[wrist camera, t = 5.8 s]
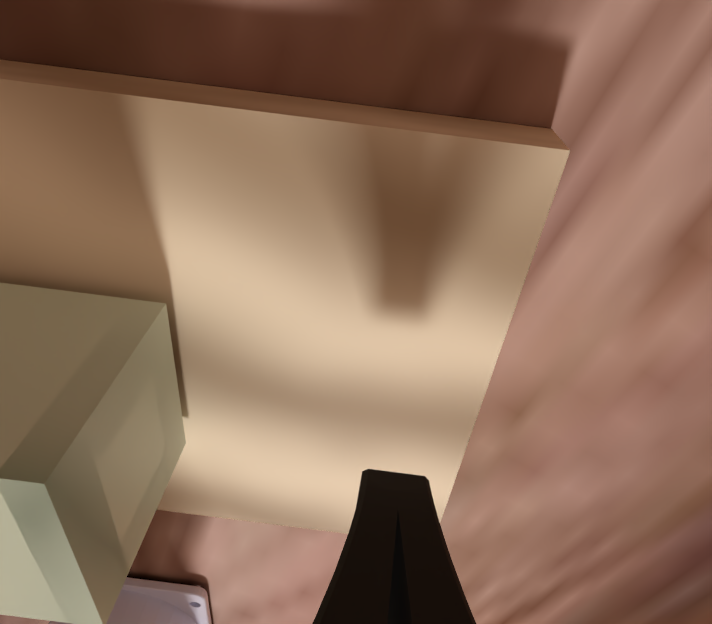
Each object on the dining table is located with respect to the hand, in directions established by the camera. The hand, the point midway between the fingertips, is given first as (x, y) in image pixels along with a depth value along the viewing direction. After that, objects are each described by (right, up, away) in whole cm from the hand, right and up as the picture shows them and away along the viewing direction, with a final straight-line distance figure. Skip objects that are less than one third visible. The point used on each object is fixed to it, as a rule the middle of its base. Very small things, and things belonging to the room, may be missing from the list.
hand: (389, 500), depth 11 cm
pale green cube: (-8, +3, +2) cm, 9 cm away
